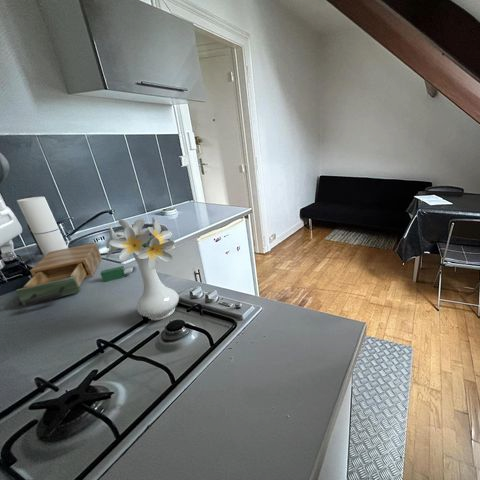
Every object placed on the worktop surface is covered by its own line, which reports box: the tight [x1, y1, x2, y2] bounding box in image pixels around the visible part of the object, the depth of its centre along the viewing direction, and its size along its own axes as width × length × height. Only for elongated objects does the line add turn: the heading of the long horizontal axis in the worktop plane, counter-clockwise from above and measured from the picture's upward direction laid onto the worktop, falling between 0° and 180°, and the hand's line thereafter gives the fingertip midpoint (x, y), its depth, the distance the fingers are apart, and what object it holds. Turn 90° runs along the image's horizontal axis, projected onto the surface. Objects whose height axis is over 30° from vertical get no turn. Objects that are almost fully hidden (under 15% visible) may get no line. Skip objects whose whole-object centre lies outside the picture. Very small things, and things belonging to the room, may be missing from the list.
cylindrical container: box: [16, 196, 69, 258], centre depth 99 cm, size 7×7×25 cm
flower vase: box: [105, 217, 180, 321], centre depth 63 cm, size 13×18×25 cm
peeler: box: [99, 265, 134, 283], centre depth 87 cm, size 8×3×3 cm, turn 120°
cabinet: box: [29, 242, 103, 279], centre depth 92 cm, size 18×14×7 cm
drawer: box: [15, 262, 88, 306], centre depth 80 cm, size 21×12×5 cm, turn 30°
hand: (5, 264), depth 60 cm, fingers open, 4 cm apart
